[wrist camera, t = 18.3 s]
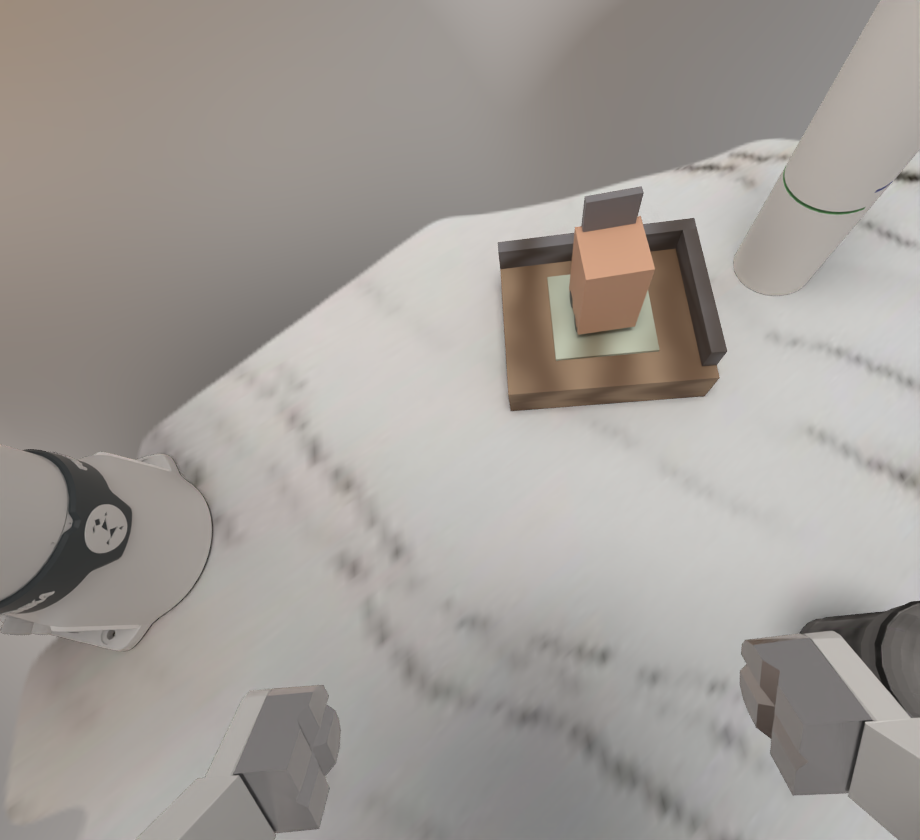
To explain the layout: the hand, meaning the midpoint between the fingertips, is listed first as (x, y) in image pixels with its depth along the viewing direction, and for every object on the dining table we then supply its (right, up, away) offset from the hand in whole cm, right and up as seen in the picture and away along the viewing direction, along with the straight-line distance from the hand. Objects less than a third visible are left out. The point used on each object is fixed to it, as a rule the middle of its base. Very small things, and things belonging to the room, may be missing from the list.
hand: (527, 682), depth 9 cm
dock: (+12, +14, +39) cm, 43 cm away
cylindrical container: (+30, +21, +39) cm, 53 cm away
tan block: (+12, +15, +35) cm, 40 cm away
